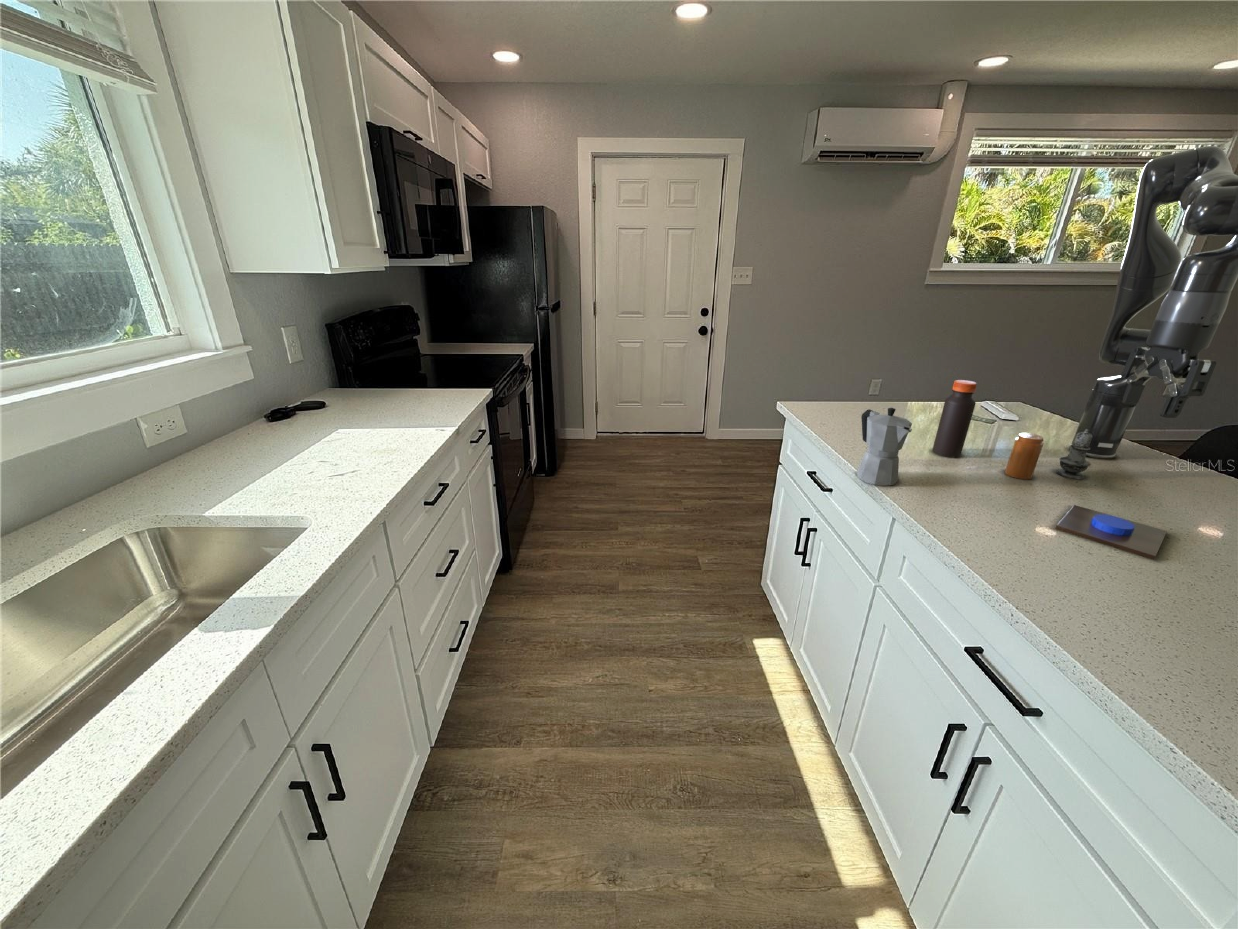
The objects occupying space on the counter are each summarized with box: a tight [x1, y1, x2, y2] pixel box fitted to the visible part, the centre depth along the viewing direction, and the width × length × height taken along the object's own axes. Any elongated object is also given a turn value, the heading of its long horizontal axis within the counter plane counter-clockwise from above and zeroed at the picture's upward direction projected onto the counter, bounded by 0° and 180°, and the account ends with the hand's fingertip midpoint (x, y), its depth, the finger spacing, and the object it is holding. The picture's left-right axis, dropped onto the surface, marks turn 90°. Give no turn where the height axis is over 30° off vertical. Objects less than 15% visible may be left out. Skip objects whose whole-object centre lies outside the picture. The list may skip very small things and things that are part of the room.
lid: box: [1091, 514, 1135, 536], centre depth 96 cm, size 6×6×2 cm
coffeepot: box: [855, 407, 913, 487], centre depth 118 cm, size 15×9×18 cm, turn 13°
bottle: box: [932, 379, 978, 458], centre depth 132 cm, size 7×7×20 cm
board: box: [1054, 504, 1167, 560], centre depth 97 cm, size 14×14×1 cm
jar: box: [1004, 432, 1045, 480], centre depth 120 cm, size 5×5×10 cm
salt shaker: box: [1055, 429, 1093, 480], centre depth 120 cm, size 6×6×12 cm
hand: (1147, 410), depth 90 cm, fingers open, 8 cm apart
